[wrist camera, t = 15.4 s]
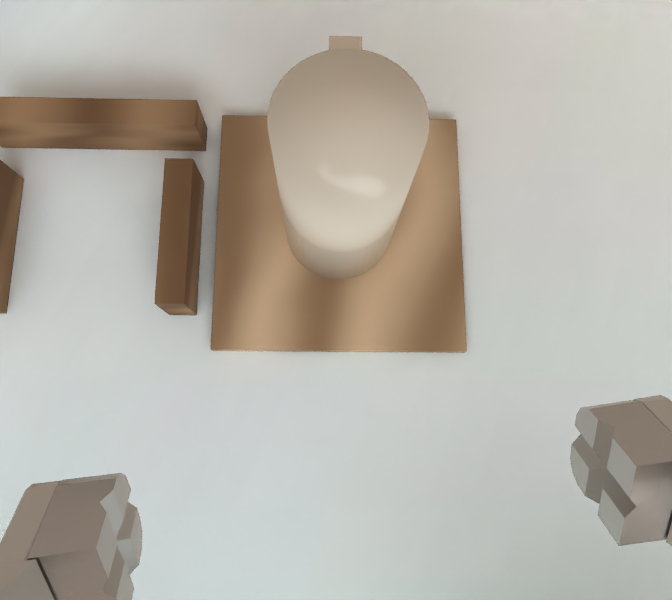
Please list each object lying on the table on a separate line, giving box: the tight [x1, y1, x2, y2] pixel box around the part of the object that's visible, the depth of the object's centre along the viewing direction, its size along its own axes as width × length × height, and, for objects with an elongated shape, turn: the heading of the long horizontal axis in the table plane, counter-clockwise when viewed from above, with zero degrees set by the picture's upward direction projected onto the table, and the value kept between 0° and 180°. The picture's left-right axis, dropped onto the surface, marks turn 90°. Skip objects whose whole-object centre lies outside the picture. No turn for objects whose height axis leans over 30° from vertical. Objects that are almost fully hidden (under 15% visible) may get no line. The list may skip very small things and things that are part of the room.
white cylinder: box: [267, 36, 429, 279], centre depth 27 cm, size 6×8×12 cm
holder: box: [0, 97, 207, 315], centre depth 32 cm, size 12×12×3 cm
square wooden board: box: [211, 115, 467, 352], centre depth 33 cm, size 14×14×1 cm
